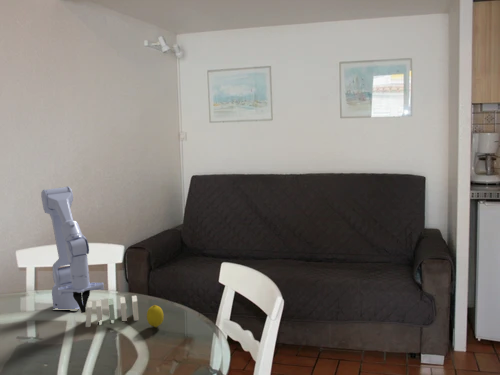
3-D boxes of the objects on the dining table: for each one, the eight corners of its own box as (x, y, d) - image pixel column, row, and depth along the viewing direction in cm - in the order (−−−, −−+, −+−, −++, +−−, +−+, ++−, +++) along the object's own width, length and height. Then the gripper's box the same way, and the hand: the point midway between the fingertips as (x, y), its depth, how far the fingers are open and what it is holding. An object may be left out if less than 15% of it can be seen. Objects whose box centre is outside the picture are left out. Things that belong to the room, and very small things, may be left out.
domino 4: (122, 322, 182) (120, 303, 180) (121, 316, 186) (120, 297, 185) (126, 321, 182) (125, 302, 181) (126, 315, 187) (124, 296, 185)
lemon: (148, 324, 180) (146, 302, 178) (164, 323, 181) (163, 301, 179) (146, 331, 175) (145, 309, 173) (163, 330, 175) (162, 308, 173)
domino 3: (110, 324, 181) (108, 305, 179) (109, 317, 185) (108, 299, 184) (115, 323, 181) (113, 304, 180) (114, 317, 186) (113, 298, 184)
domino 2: (97, 325, 180) (96, 306, 178) (97, 319, 184) (96, 300, 183) (102, 325, 180) (101, 306, 179) (102, 318, 185) (100, 299, 183)
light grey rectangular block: (85, 326, 179) (87, 307, 177) (85, 320, 183) (87, 301, 182) (90, 326, 179) (91, 307, 178) (90, 320, 184) (92, 301, 182)
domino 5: (134, 320, 183) (132, 301, 181) (133, 314, 187) (131, 296, 186) (138, 320, 183) (137, 301, 182) (137, 313, 188) (136, 295, 186)
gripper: (55, 280, 171) (60, 319, 174) (102, 275, 175) (105, 313, 178) (57, 273, 178) (61, 310, 181) (102, 268, 182) (105, 304, 185)
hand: (83, 311), depth 180 cm, fingers closed
